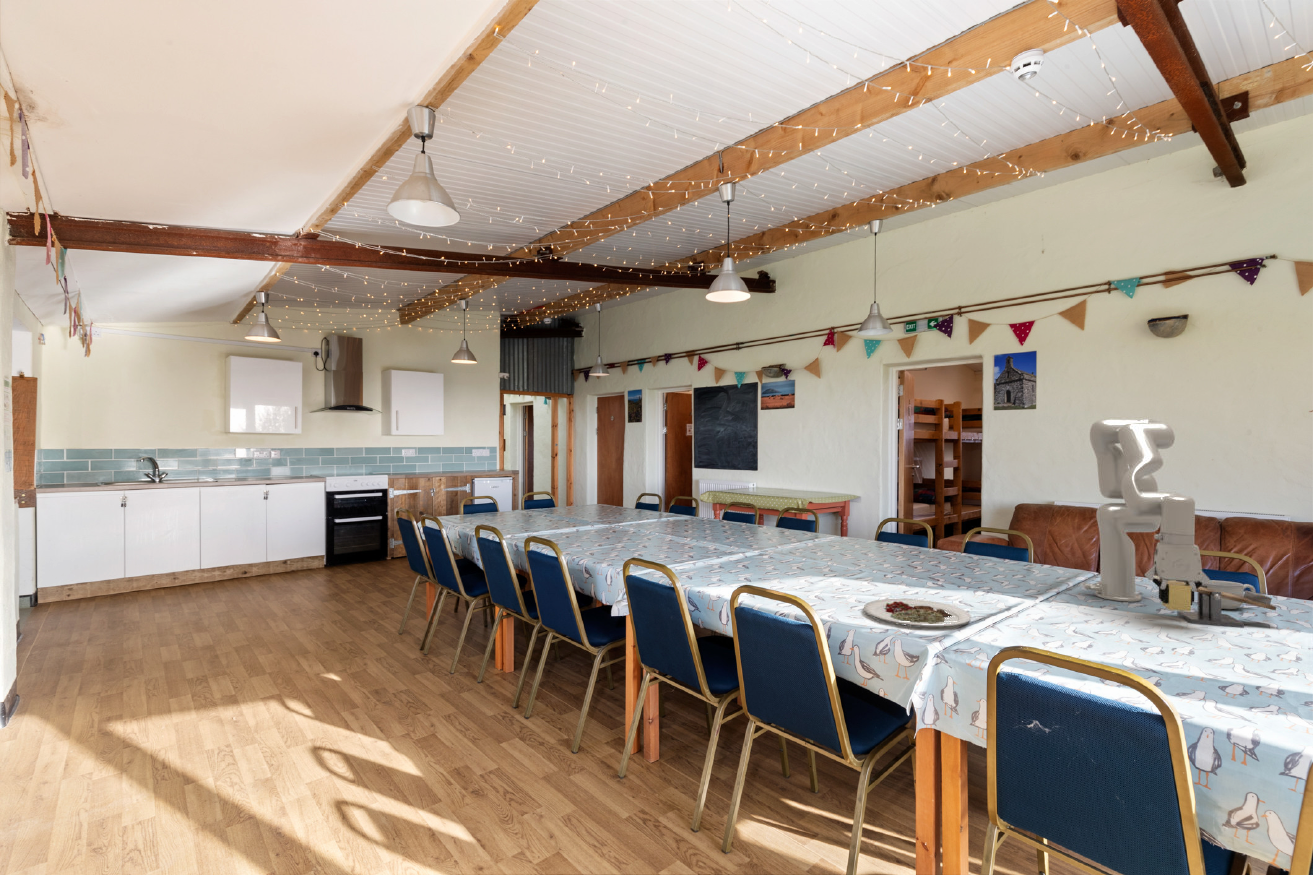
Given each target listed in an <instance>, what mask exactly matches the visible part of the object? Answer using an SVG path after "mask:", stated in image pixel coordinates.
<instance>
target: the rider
mask: <svg viewBox="0 0 1313 875" xmlns="http://www.w3.org/2000/svg"><path fill="white" fill-rule="evenodd" d="M1166 589H1167V590H1168V603H1167V604H1166V603H1163V602H1162V601H1161V605H1162V606H1164V607H1165V608H1166V609H1167V610H1171V611H1188V612H1192V605H1191V586H1190V585H1188V584H1186V582H1185V581H1168V583H1167V586H1166Z"/></svg>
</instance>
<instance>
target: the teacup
mask: <svg viewBox="0 0 1313 875" xmlns="http://www.w3.org/2000/svg"><path fill="white" fill-rule="evenodd" d="M1202 585H1207V588H1208V589H1213V590H1217V591H1221V592H1226V593H1230V594H1234V595H1239V596H1243V597H1244V594H1245V589H1246V588H1249V591H1250V592H1254V593H1256V588H1255V587H1254V586H1253V585H1251V584H1247V583H1245V584H1243V583H1240V582H1234V581H1226V580H1211V579H1210V580H1209V581H1208V582H1206V583H1205V584H1202ZM1243 604H1244V603H1241V602H1237V601H1233V600H1229V599H1224V598H1222V599H1221V610H1224V609H1225V610H1236V609H1238V608H1239V607H1241V606H1243Z"/></svg>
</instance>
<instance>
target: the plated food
mask: <svg viewBox="0 0 1313 875" xmlns="http://www.w3.org/2000/svg"><path fill="white" fill-rule="evenodd" d="M863 611H864V612H866V614H868V615H870V616H872V617H874V618H876V619H880V620H884V621H886V622H888V621H890V622H889V623H892V622H893V623H892V624H896V623H899V624H898V625H901V624H906V625H905V626H907V625H911V626H910V627H915V626H920V627H919V628H942V627H941V626H946V627H952V626H953V627H954V626H959V625H963V624H966V623H968V622H970V621H971V619H972V615H971V614H970V613H969V611H967V610H965V609H963V608H961V607H959V606H955V605H951V604H948V603H944V602H943V603H942V602H937V601H933V600H924V599H923V600H922V599H913V598H887V599H885V598H883V599H877V600H873V601H869V602H867V603H866V604H864V606H863ZM945 611H946V612H947V613H946V612H945ZM948 613H949V614H948ZM948 616H949V617H948ZM950 616H951V617H950ZM952 616H953V617H952ZM954 616H955V617H954ZM945 618H946V619H945ZM947 618H949V619H947ZM899 621H910V622H899ZM944 621H957V622H944ZM943 623H946V624H944V625H922V624H943ZM947 623H951V624H947Z"/></svg>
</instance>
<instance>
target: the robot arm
mask: <svg viewBox="0 0 1313 875" xmlns="http://www.w3.org/2000/svg"><path fill="white" fill-rule="evenodd" d="M1175 438H1176V436H1175V433H1174V430H1173V428H1172V427H1171V426H1170V425H1169V424H1168V423H1166V422H1163V421H1161V420H1156V419H1153V418H1145V417H1143V418H1141V417H1140V418H1139V417H1135V418H1131V417H1128V418H1124V417H1123V418H1121V417H1119V418H1118V417H1117V418H1115V417H1113V418H1104V419H1099V420H1096V421H1094V422H1093V423H1092V425H1091V427H1090V429H1089V439H1090V440H1089V441H1090V444H1091V448H1092V449H1093V453H1094V454H1095V458H1096V462H1097V476H1098V487H1099V492H1100V494H1101V495H1102V497H1104V498H1107V499H1111V500H1113V499H1114V500H1124V502H1109V503H1108V502H1107V503H1104V504H1102V505H1100V506H1098V507H1097V510H1096V515H1095V516H1096V522H1097V525H1098V526H1097V527H1098V530H1099V554H1100V556H1099V557H1100V562H1099V564H1100V566H1099V567H1100V568H1099V569H1100V580H1097V582H1095V583H1088V582H1087V583H1086V582H1084V583H1083V588H1084V589H1085V590H1091V591H1095V592H1094V596H1096V597H1099V598H1101V599H1104V600H1109V601H1117V602H1129V603H1131V602H1132V603H1133V602H1134V603H1135V602H1140V601H1142V596H1141V595H1140V594H1138V593H1136V546H1135V544H1134V541H1133V540H1132V539H1131V538H1130V537H1129V536H1128V534H1127V533H1153V532H1156V531H1158V530H1159V529H1160V531H1159V533H1157V534H1154V536H1153V537H1154V540H1159V541H1160V542H1157V544H1156V547H1155V551H1154V557H1153V566H1152V567H1151V568H1150V569H1148V570H1147V571H1146V573H1144V576H1145V577H1146V578H1147V579H1148V580H1150V581H1151V582H1152V583H1153V584H1155V585H1156V586H1157V587H1158V599H1159V600H1160V602H1161V603H1162V602H1163V603H1166V604H1167V603H1168V590H1167V589H1166V586H1167V583H1168V580H1174V581H1178V582H1185V583H1186V584H1188V585H1190V586H1191V606H1193V603H1194V602H1195V591H1196V590H1197V589H1198V588H1199V587H1200V586H1202V584H1205V583H1206V582H1208V581H1209V580H1211V579H1210V578H1209V576H1208V575H1207V574H1206V573H1204V571H1203V568H1202V567H1203V566H1202V560H1201V559H1202V558H1201V553H1200V552H1201V551H1200V547H1199V546H1198V545H1196V544H1195V534H1196V533H1195V528H1196V526H1195V525H1196V523H1195V522H1196V518H1195V516H1196V502H1195V500H1194V498H1193V497H1191V496H1186V495H1183V494H1181V493H1180V492H1176V491H1159V488H1158V483H1157V480H1156V478H1155V476H1154V475H1153V474H1154V473H1156V472H1158V471H1159V470H1161V469H1162V467H1163V465H1164V460H1163V458H1162V456H1161V453H1160V451H1159V450H1166V449H1169V448H1171V447H1173V445H1174V443H1175ZM1117 444H1118V445H1120V447H1119V446H1118V445H1117ZM1153 575H1154V576H1158V577H1159V580H1157V579H1156V578H1155V577H1154V576H1153Z"/></svg>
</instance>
